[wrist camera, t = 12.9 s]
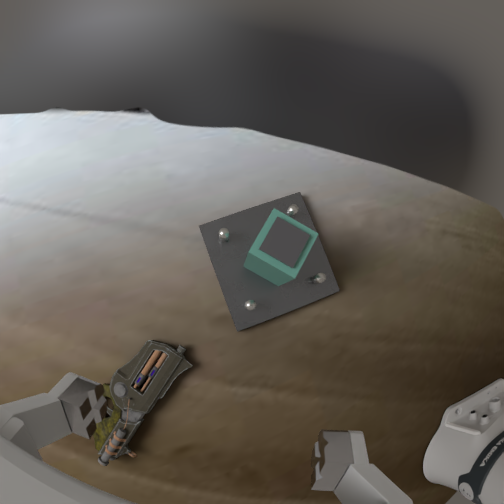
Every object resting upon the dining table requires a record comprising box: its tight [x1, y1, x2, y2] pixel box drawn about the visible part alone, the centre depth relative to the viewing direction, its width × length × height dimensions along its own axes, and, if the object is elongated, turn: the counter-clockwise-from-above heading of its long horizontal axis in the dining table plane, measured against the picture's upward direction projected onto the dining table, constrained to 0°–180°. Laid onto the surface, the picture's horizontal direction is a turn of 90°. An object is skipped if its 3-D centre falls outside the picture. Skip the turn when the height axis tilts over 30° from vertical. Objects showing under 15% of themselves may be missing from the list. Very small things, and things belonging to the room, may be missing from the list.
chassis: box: [199, 192, 340, 331], centre depth 39 cm, size 14×14×4 cm
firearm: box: [93, 340, 193, 466], centre depth 36 cm, size 4×22×15 cm
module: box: [244, 208, 318, 286], centre depth 35 cm, size 5×5×10 cm
